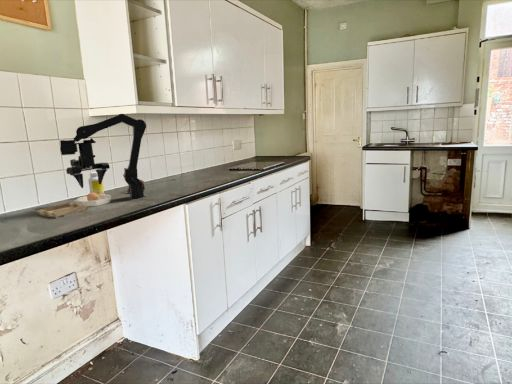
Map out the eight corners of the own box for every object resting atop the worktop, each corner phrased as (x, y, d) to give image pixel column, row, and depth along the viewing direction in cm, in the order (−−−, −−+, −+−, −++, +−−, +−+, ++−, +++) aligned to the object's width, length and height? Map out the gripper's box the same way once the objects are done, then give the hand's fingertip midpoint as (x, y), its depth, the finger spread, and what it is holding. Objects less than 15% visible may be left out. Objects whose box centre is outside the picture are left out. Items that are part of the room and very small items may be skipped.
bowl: (116, 201, 171) (116, 195, 171) (88, 209, 159) (87, 202, 158) (98, 199, 179) (97, 193, 179) (69, 206, 167) (68, 199, 166)
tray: (87, 210, 157) (86, 205, 156) (55, 218, 145) (54, 213, 145) (69, 207, 164) (69, 202, 164) (38, 214, 153) (37, 209, 153)
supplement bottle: (107, 195, 188) (103, 171, 185) (96, 198, 182) (92, 173, 180) (99, 194, 191) (95, 171, 189) (88, 197, 186) (84, 173, 183)
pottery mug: (123, 193, 193) (125, 179, 196) (138, 198, 200) (140, 184, 202) (134, 190, 185) (137, 175, 188) (150, 195, 192) (152, 180, 195)
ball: (101, 201, 170) (99, 191, 169) (91, 204, 166) (90, 194, 165) (95, 201, 172) (93, 191, 171) (85, 203, 168) (84, 193, 167)
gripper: (94, 151, 176) (98, 181, 179) (57, 155, 161) (62, 188, 164) (108, 151, 170) (112, 182, 173) (70, 155, 155) (76, 190, 158)
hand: (91, 186), depth 167 cm, fingers open, 9 cm apart
